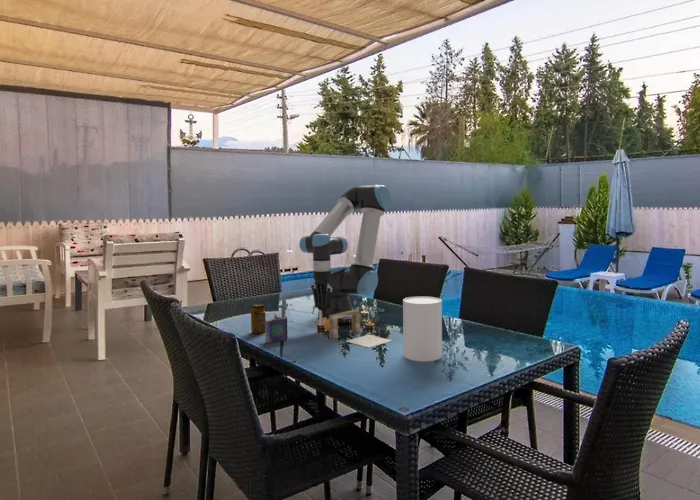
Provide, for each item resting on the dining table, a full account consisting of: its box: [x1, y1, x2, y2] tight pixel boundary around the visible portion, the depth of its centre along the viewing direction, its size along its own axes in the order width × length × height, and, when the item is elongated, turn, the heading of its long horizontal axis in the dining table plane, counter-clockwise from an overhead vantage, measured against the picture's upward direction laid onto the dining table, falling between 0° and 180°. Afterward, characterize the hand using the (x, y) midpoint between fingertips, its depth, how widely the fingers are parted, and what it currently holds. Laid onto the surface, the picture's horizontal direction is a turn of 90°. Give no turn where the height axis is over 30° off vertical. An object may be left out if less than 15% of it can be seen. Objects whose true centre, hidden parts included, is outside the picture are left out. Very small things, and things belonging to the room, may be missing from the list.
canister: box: [402, 295, 443, 362], centre depth 184 cm, size 14×14×20 cm
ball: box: [323, 318, 329, 332], centre depth 221 cm, size 6×6×6 cm
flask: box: [265, 313, 288, 344], centre depth 207 cm, size 9×3×11 cm, turn 121°
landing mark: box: [345, 334, 393, 349], centre depth 205 cm, size 13×13×1 cm
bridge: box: [328, 309, 361, 340], centre depth 215 cm, size 3×14×9 cm, turn 133°
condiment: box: [248, 303, 267, 337], centre depth 220 cm, size 7×8×12 cm
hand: (322, 324), depth 224 cm, fingers closed
